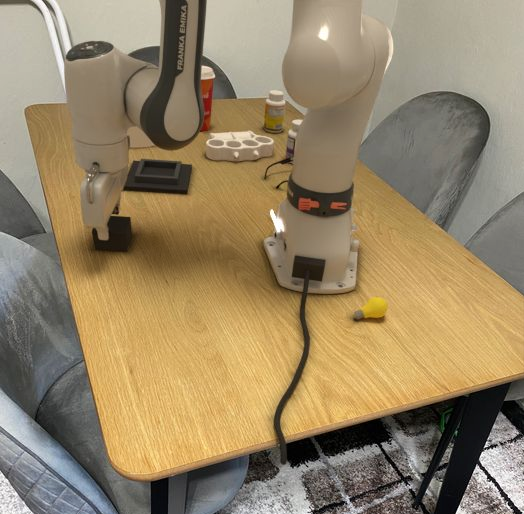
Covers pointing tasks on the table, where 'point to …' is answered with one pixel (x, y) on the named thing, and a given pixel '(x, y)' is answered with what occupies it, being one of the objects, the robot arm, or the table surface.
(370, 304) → the light bulb
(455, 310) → the table surface
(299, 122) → the pill bottle
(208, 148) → the white brass knuckles
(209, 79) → the coffee cup
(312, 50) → the robot arm
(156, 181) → the base pad
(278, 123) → the supplement bottle
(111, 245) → the black block
